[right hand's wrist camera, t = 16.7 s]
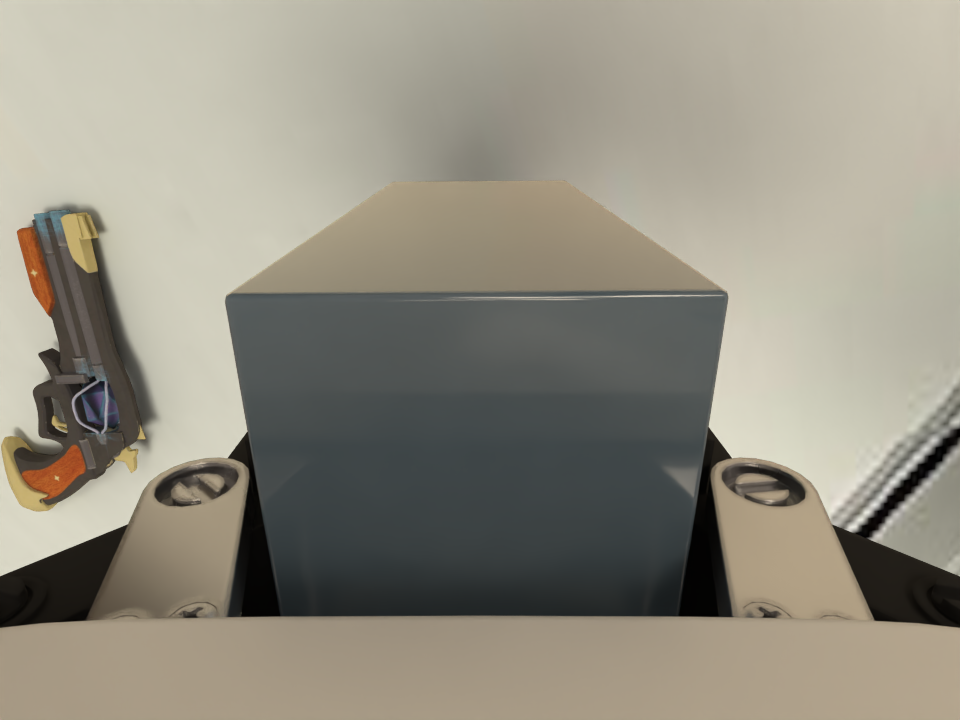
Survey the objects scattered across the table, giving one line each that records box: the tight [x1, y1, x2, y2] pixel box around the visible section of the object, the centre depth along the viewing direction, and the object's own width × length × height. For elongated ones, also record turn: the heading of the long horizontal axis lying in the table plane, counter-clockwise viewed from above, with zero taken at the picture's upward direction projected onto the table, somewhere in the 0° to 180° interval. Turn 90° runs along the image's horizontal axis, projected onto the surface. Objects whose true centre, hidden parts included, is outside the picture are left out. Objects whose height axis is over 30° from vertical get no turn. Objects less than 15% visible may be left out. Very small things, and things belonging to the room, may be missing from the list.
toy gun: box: [1, 210, 146, 511], centre depth 36 cm, size 3×19×10 cm
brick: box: [225, 180, 728, 617], centre depth 12 cm, size 5×8×11 cm, turn 1°
